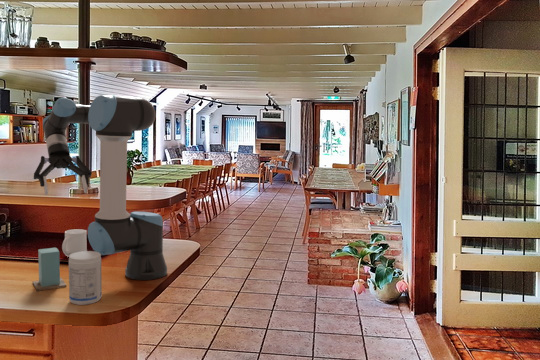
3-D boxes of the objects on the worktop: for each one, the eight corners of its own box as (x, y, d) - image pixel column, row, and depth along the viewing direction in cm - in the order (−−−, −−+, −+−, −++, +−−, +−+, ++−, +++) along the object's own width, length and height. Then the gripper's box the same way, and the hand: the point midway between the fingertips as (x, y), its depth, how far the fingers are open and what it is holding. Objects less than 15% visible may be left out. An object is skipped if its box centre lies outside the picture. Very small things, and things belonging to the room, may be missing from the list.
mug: (71, 261, 186) (71, 236, 185) (54, 259, 189) (53, 234, 187) (90, 254, 198) (90, 230, 197) (74, 252, 200) (74, 228, 199)
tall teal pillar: (39, 281, 160) (38, 249, 159) (56, 279, 163) (56, 247, 162) (41, 286, 156) (41, 253, 154) (59, 284, 159) (59, 251, 158)
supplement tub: (80, 293, 153) (79, 249, 151) (107, 296, 151) (107, 251, 150) (62, 304, 143) (62, 257, 141) (91, 307, 142) (91, 260, 140)
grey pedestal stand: (32, 283, 161) (32, 258, 160) (60, 278, 166) (60, 255, 165) (37, 291, 153) (36, 265, 152) (66, 286, 158) (65, 261, 157)
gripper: (89, 154, 193) (99, 195, 182) (21, 155, 179) (28, 199, 168) (92, 142, 188) (103, 184, 178) (23, 141, 174) (30, 187, 163)
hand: (66, 191), depth 173 cm, fingers open, 13 cm apart
